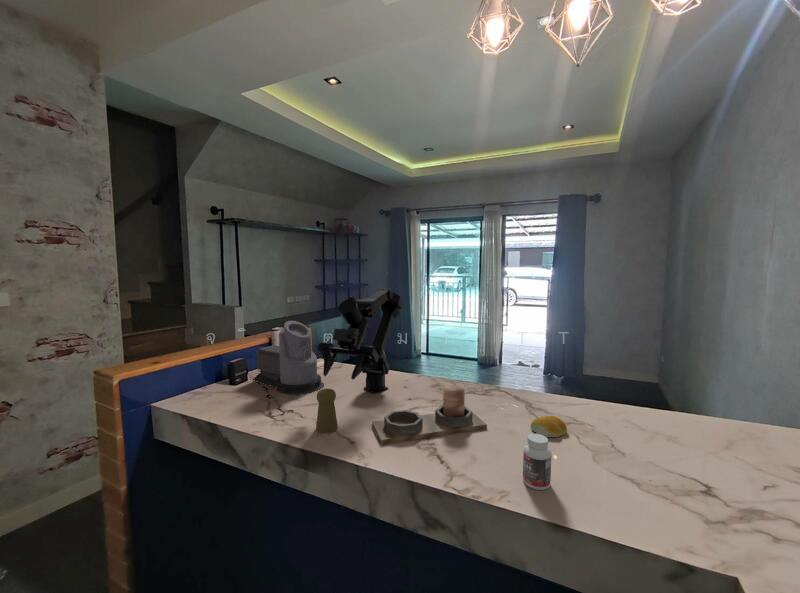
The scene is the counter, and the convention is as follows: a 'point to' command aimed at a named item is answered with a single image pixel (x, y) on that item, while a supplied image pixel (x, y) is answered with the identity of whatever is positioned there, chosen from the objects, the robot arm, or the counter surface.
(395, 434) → the rail
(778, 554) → the counter surface
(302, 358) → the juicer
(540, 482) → the pill bottle
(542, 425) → the bread roll
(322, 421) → the olive green peg
